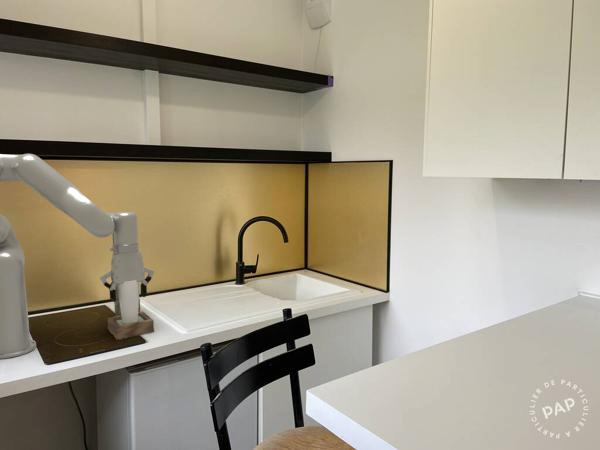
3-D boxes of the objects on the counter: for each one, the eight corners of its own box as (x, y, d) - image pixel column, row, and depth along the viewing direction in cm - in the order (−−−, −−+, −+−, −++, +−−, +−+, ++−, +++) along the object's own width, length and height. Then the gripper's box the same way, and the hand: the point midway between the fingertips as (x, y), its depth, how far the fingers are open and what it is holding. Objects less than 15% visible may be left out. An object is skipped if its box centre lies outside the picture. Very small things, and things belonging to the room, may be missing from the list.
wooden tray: (116, 340, 143) (116, 327, 143) (108, 329, 153) (107, 317, 152) (154, 332, 150) (153, 320, 150) (143, 322, 160) (142, 311, 159)
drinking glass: (137, 317, 156) (135, 275, 154) (143, 322, 150) (141, 279, 148) (117, 321, 152) (114, 278, 150) (122, 327, 146) (120, 282, 144)
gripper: (101, 253, 140) (104, 305, 142) (155, 247, 150) (157, 296, 152) (96, 249, 146) (99, 300, 148) (149, 244, 156) (151, 292, 158)
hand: (128, 298), depth 150 cm, fingers open, 9 cm apart
